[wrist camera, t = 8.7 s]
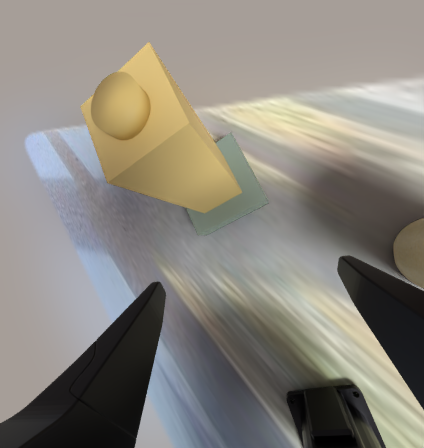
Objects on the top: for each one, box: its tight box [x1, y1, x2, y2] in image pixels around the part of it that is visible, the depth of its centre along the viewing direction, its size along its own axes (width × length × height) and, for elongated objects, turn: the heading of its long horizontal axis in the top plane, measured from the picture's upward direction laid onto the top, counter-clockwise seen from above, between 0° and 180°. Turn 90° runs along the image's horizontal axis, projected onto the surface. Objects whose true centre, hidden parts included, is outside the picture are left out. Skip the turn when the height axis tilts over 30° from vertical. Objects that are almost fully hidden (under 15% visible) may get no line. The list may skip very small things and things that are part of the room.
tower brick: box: [81, 42, 242, 213], centre depth 13 cm, size 4×4×13 cm
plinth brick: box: [186, 133, 268, 235], centre depth 21 cm, size 8×8×2 cm
